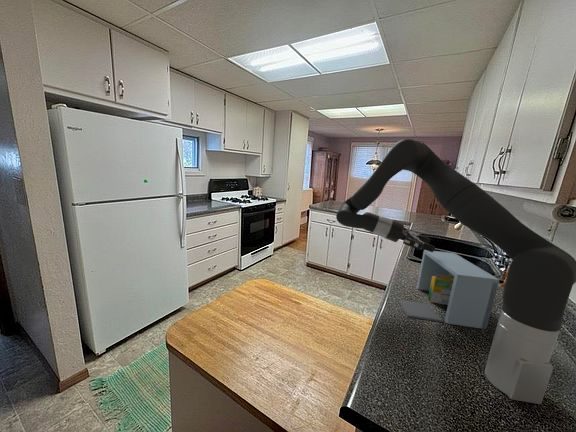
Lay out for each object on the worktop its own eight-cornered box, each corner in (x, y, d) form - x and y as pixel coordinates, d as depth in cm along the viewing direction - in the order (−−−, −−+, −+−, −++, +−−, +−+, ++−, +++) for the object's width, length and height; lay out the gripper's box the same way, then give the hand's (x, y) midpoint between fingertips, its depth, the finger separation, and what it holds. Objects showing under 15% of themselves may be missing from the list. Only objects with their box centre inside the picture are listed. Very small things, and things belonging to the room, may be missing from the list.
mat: (442, 321, 79) (442, 320, 79) (407, 316, 80) (407, 315, 80) (428, 305, 88) (428, 304, 88) (397, 301, 90) (398, 299, 90)
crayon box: (447, 301, 93) (453, 273, 90) (451, 305, 90) (457, 277, 88) (427, 298, 94) (432, 271, 92) (430, 302, 91) (436, 274, 89)
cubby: (486, 329, 77) (499, 279, 73) (446, 323, 78) (458, 274, 75) (446, 291, 101) (454, 253, 98) (416, 287, 102) (424, 249, 99)
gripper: (392, 225, 84) (441, 243, 80) (391, 215, 97) (432, 230, 93) (383, 243, 87) (430, 261, 82) (383, 231, 99) (423, 247, 95)
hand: (431, 245), depth 88 cm, fingers open, 8 cm apart
